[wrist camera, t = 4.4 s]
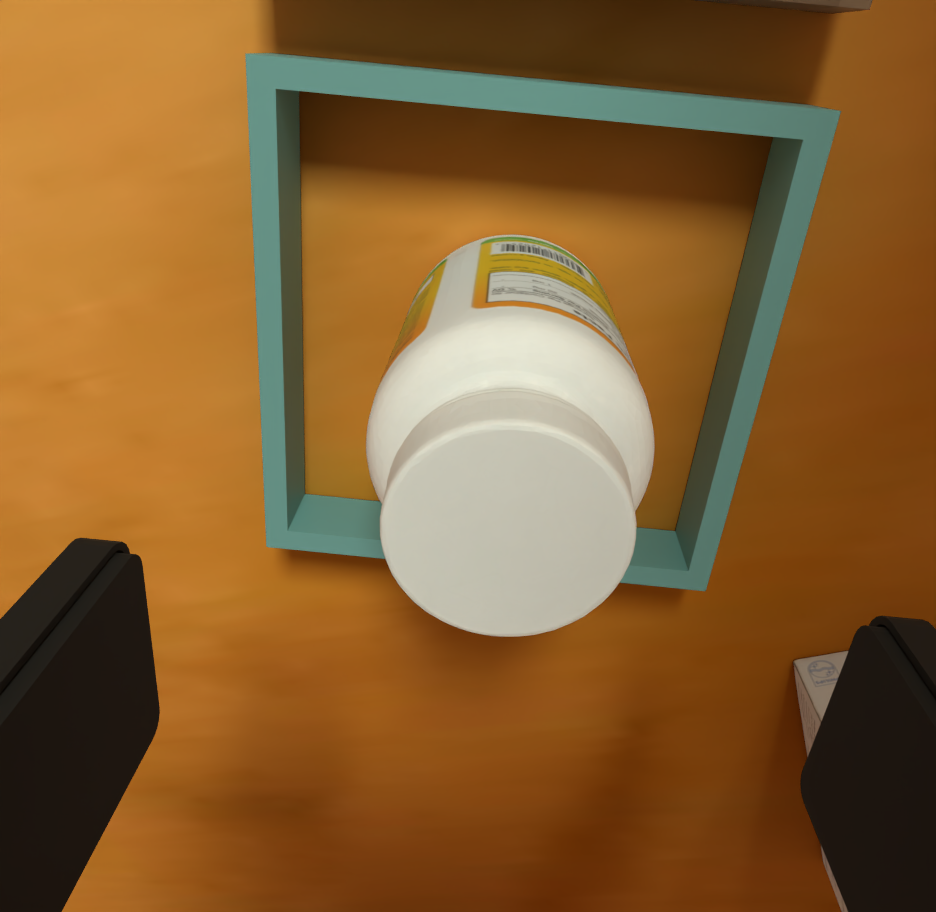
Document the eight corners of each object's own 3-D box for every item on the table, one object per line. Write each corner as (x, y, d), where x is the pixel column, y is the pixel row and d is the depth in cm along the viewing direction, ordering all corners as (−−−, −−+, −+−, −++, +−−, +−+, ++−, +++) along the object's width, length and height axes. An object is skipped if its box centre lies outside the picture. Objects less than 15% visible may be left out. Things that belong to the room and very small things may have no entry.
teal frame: (272, 53, 18) (245, 53, 16) (808, 104, 18) (840, 110, 16) (285, 509, 23) (266, 546, 22) (691, 550, 23) (705, 591, 22)
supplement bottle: (460, 454, 22) (426, 709, 14) (372, 283, 20) (266, 459, 12) (642, 384, 21) (730, 617, 12) (568, 193, 19) (613, 316, 10)
